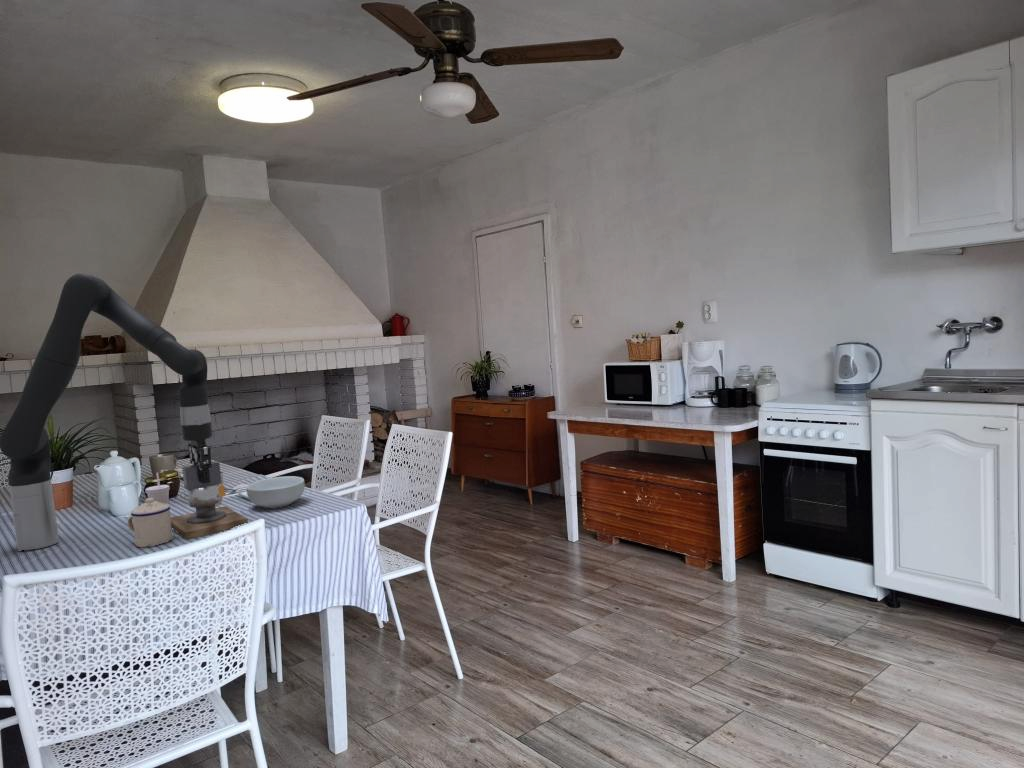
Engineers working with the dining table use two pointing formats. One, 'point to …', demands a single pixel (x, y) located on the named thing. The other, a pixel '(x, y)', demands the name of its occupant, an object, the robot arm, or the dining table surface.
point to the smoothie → (158, 492)
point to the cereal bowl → (276, 491)
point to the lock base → (206, 521)
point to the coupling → (203, 485)
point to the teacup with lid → (151, 523)
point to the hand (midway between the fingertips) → (202, 481)
